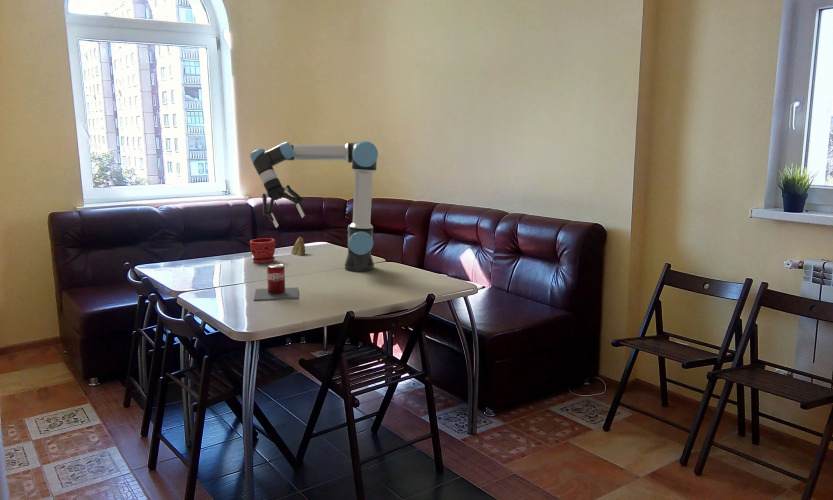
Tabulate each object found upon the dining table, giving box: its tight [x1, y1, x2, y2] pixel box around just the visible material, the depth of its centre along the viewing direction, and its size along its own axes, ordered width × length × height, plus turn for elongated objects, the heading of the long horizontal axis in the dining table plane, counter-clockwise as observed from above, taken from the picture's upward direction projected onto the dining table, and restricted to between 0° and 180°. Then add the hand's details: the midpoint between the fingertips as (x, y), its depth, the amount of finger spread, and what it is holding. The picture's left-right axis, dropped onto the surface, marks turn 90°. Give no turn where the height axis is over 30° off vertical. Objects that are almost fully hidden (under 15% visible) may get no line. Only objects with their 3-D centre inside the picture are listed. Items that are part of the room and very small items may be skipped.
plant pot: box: [249, 237, 276, 264], centre depth 330 cm, size 13×13×12 cm
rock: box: [290, 236, 306, 256], centre depth 352 cm, size 11×9×10 cm
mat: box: [253, 286, 300, 302], centre depth 262 cm, size 18×18×1 cm
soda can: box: [266, 263, 286, 295], centre depth 261 cm, size 7×7×12 cm
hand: (290, 221), depth 286 cm, fingers open, 13 cm apart
